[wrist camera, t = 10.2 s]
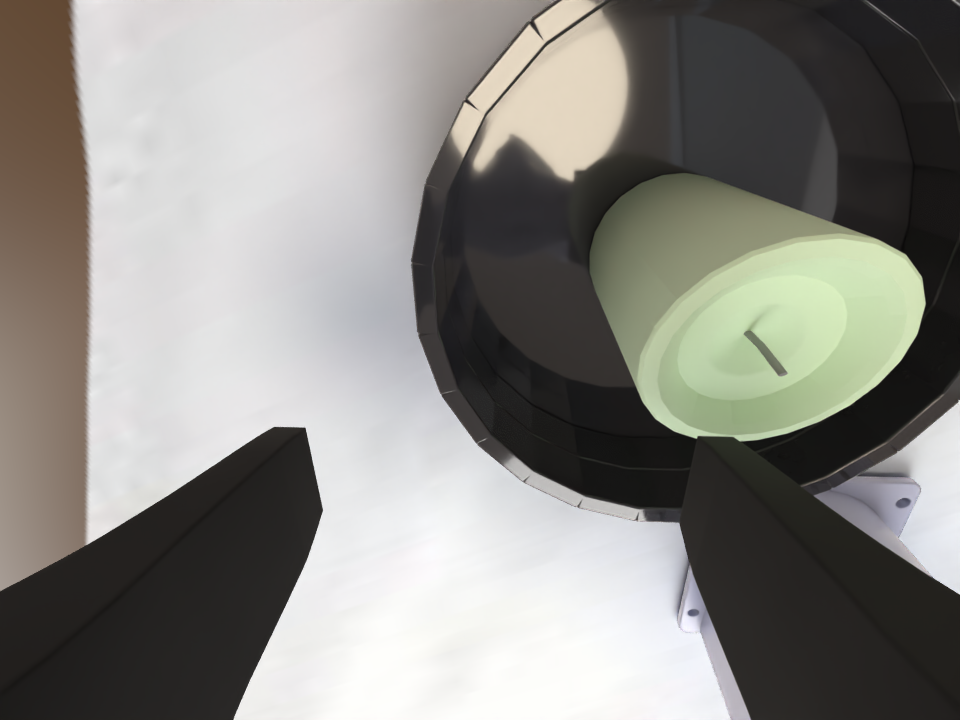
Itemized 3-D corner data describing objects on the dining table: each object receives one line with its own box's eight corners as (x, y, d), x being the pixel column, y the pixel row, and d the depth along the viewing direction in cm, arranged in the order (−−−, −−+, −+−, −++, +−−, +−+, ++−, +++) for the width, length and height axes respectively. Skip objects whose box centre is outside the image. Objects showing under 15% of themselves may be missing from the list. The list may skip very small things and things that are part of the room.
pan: (836, 443, 20) (918, 530, 16) (449, 437, 21) (433, 516, 17) (1011, -46, 13) (1239, -117, 9) (419, -18, 14) (380, -69, 10)
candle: (750, 310, 17) (931, 468, 9) (599, 338, 18) (658, 504, 10) (748, 153, 15) (980, 200, 7) (577, 194, 15) (632, 272, 8)
